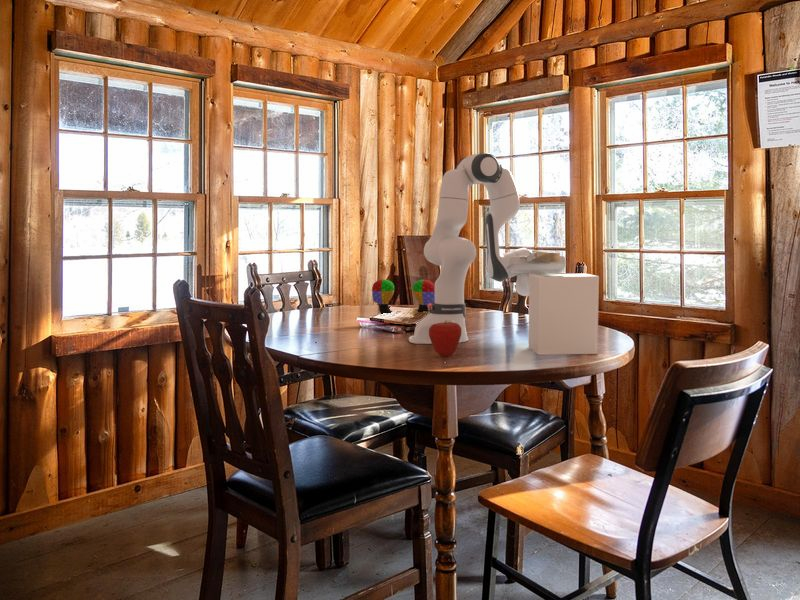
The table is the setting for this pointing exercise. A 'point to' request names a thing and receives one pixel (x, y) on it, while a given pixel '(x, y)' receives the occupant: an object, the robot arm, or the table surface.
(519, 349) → the table surface
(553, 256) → the tan rectangular block
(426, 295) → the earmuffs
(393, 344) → the table surface
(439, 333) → the apple
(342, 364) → the table surface
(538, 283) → the white cardboard box
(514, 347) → the table surface
